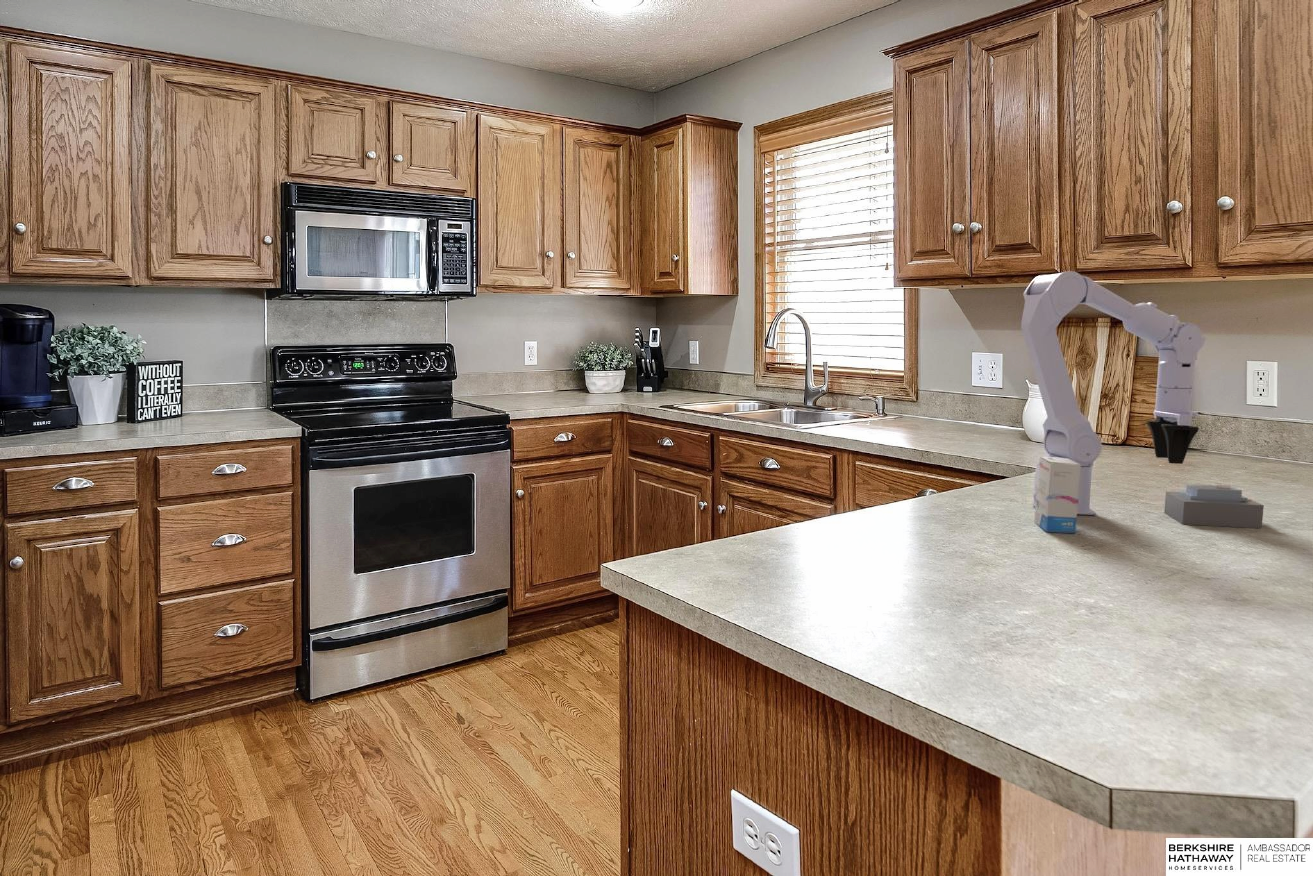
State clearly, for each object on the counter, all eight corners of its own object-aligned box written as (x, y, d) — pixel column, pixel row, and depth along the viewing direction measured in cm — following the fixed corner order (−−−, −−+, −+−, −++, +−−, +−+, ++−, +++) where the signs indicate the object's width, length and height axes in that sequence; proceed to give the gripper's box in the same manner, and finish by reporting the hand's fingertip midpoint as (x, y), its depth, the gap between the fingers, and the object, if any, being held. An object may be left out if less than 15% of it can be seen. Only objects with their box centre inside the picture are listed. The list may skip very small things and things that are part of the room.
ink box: (1077, 534, 140) (1082, 463, 138) (1045, 532, 141) (1049, 462, 139) (1063, 523, 148) (1068, 456, 147) (1033, 521, 149) (1037, 455, 148)
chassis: (1182, 524, 147) (1184, 500, 147) (1164, 512, 157) (1165, 490, 156) (1261, 528, 144) (1263, 504, 144) (1238, 516, 154) (1240, 493, 153)
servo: (1188, 522, 149) (1191, 485, 148) (1178, 517, 154) (1180, 481, 153) (1245, 524, 147) (1248, 487, 147) (1233, 519, 152) (1236, 482, 151)
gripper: (1213, 390, 149) (1207, 467, 150) (1185, 386, 163) (1180, 456, 164) (1168, 389, 151) (1162, 465, 152) (1144, 385, 164) (1139, 454, 166)
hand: (1168, 460), depth 158 cm, fingers open, 7 cm apart
